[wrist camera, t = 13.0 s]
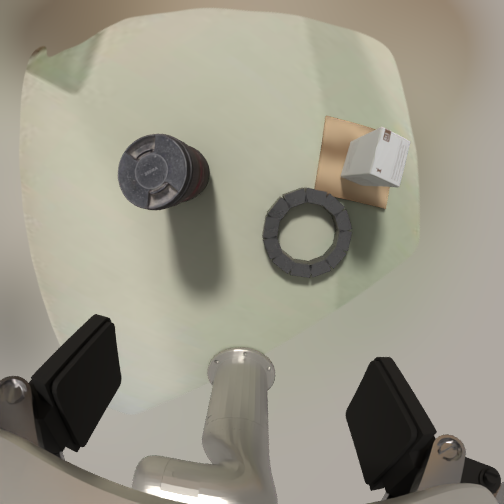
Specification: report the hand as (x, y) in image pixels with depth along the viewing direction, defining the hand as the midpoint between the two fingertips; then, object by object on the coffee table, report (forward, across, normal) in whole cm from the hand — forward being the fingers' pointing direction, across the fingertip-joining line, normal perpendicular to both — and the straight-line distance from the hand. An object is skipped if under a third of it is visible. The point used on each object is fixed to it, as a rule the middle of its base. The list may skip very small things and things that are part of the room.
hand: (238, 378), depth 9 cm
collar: (+33, -8, 0) cm, 34 cm away
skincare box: (+33, -14, -12) cm, 38 cm away
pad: (+33, -14, -12) cm, 38 cm away
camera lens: (+34, +11, -6) cm, 36 cm away
